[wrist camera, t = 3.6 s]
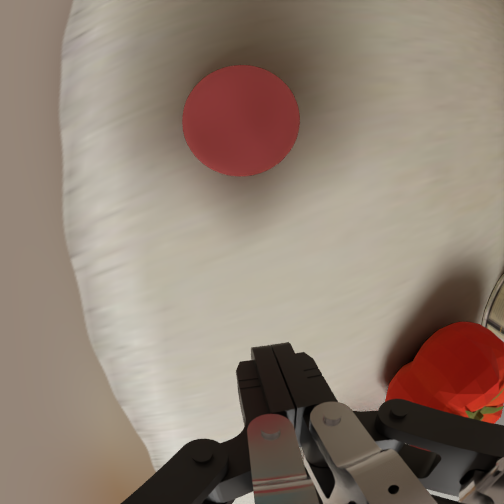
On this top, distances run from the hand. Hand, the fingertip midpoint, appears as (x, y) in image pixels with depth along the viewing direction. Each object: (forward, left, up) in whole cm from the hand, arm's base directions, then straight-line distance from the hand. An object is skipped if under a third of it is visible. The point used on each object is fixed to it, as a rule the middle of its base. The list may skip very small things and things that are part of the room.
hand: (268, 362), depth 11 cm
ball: (-10, 0, -5) cm, 11 cm away
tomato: (+11, +18, -8) cm, 23 cm away
